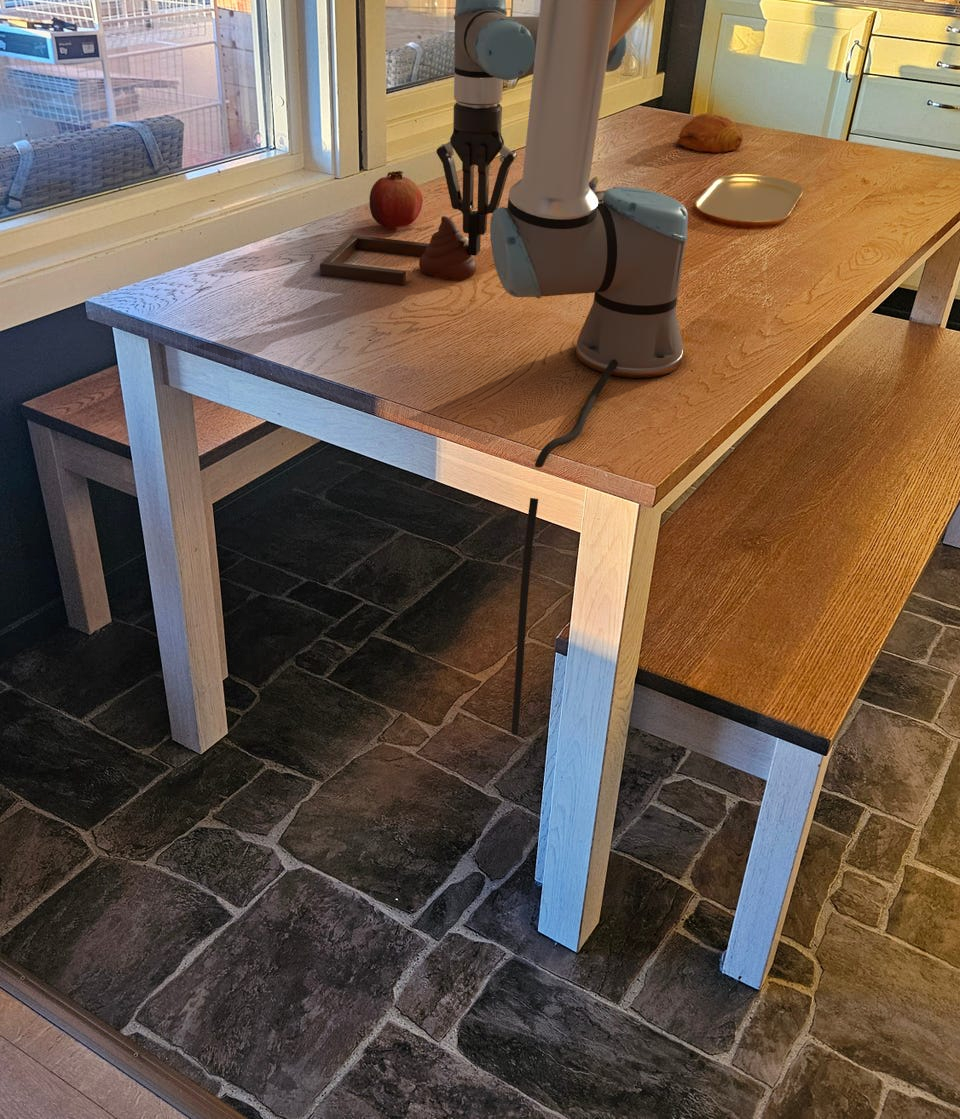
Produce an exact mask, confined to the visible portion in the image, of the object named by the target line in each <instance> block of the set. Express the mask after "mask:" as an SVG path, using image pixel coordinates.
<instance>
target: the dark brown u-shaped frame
mask: <svg viewBox="0 0 960 1119" xmlns="http://www.w3.org/2000/svg"><path fill="white" fill-rule="evenodd" d="M428 244H429V243H427V242H417V241H412V240H411V241H410V240H403V239H402V240H400V239H392V238H383V237H376V236H367V235H357V234H351V235H350V236H349V237H348V238H347V239H345V240H344V241H343V242H342V243H341V244H340V245H339V246H337V248H335V249H334V250H333V251H332V252H331V253H330V254H329V255H327V257H325V258H324V259H323V260H322V261H321V262H320V263H319V274H320V276H323V277H324V276H325V277H331V278H341V279H349V280H357V281H364V282H373V283H374V282H375V283H383V284H389V285H398V286H404V285H405V284H406V282H407V270H401V269H394V268H386V267H385V268H384V267H376V266H367V265H360V264H352V263H344V262H346V260H348V259H349V258H350V257H351V256H352V255H353V254H354V253H355V252H356V251H357V250H361V251H369V252H377V253H379V252H380V253H387V254H394V255H395V254H396V255H404V256H413V257H419V258H421V256H422V255H423V254H424V253H425V250H426V247H427V246H428Z"/></svg>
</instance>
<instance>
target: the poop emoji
mask: <svg viewBox="0 0 960 1119" xmlns="http://www.w3.org/2000/svg"><path fill="white" fill-rule="evenodd" d="M440 220H441V222H440V225H439V226H438V231H435V232H434V233H433V234H432V235H431V238H430V240H429V243H428V246H427V247H426V250H425V253H424V254H423V255H422V256H421V257H419V261H418V267H419V269H420V271H421V272H422V273H423V274H425V275H428V276H439V277H441V278H443V279H447V280H451V281H452V280H453V281H461V280H467V279H468V278H469V279H470V278H472V276H474V275H475V273H476V271H477V262H476V260H475V259H474V257H472V255H468V237H467V236H463V235H462V233H461V231H460V230H459V227H458V226H457V224H456V222H454V221H453V219H451V218H450V217H448V216H446V215H443V216H441V219H440Z"/></svg>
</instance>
